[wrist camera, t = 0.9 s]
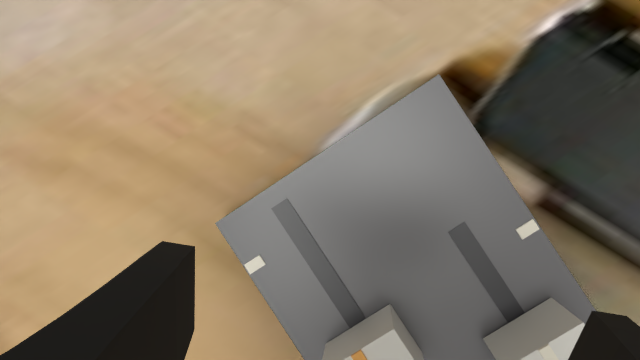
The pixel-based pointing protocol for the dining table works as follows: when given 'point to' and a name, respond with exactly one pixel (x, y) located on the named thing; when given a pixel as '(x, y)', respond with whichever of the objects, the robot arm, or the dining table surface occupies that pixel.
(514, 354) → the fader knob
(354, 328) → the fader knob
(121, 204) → the dining table surface
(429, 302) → the panel
